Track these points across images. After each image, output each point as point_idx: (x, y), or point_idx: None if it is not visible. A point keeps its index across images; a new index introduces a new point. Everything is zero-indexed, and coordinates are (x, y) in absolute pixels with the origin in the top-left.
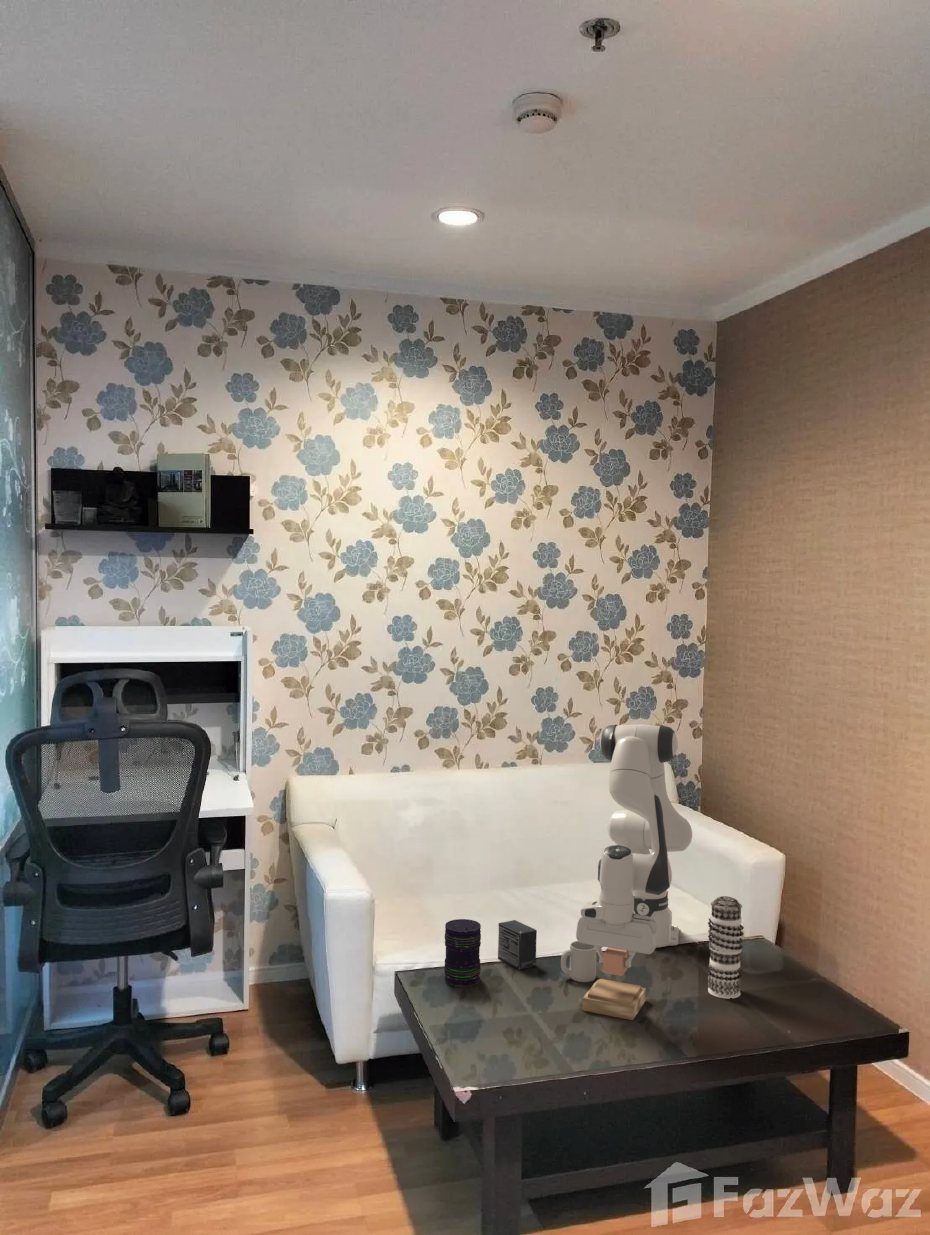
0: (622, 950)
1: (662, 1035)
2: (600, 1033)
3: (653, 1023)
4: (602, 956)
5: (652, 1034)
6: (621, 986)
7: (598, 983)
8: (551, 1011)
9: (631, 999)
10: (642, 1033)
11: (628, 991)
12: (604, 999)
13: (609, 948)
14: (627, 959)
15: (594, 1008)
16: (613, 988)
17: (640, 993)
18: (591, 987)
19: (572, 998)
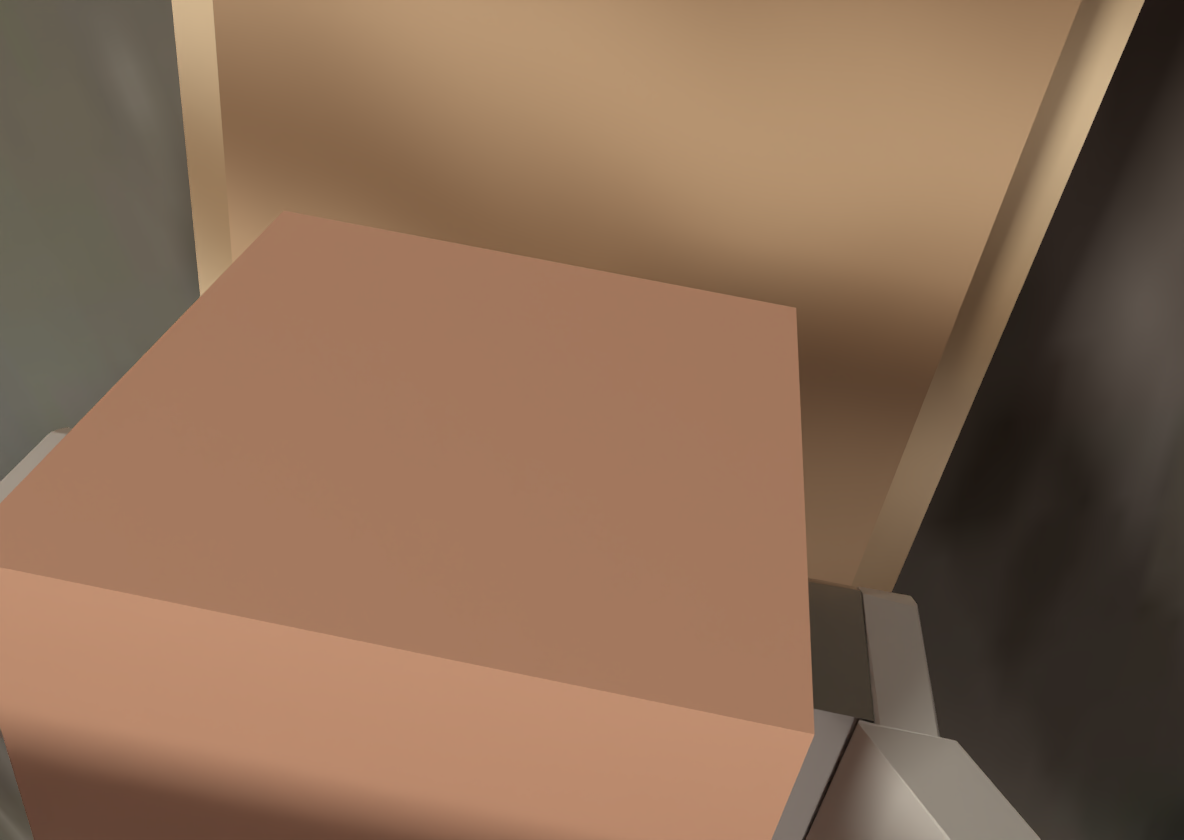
0: (601, 800)
1: (1168, 723)
2: None
3: (1119, 522)
4: None
5: (1062, 718)
6: (685, 62)
7: (250, 43)
8: (12, 462)
9: (870, 516)
10: (960, 713)
11: (824, 254)
12: None
13: (66, 696)
14: (813, 765)
15: None
16: (552, 190)
17: (1050, 132)
18: (184, 101)
19: (31, 74)
